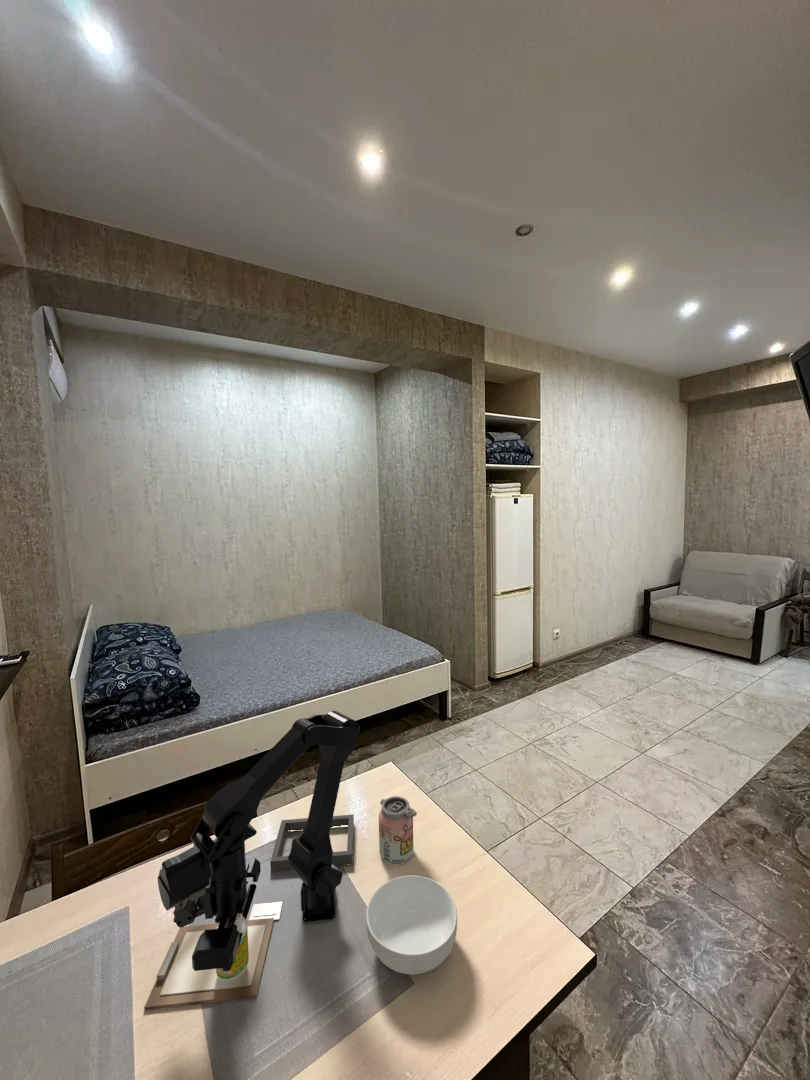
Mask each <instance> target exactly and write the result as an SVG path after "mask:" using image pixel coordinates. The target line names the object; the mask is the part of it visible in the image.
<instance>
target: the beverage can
mask: <svg viewBox="0 0 810 1080" xmlns="http://www.w3.org/2000/svg"><path fill="white" fill-rule="evenodd" d="M380 805H381V809H380V811H379V814H378V845H379V847H378V848H379V851H378V852H379V855H380V857H381V859H382V860H384V862H386V863H387V862H388V863H387V864H389V863H390V864H389V865H393V864H399V865H403V864H405V863H406V862H407V861H409V860H410V859H411V857H412V855H413V853H414V817H416V816H417V814H418V812H417V811H416V810H415V809H414V808H412V807H411V806H410V802H409V801H408V799H406V798H405V797H402V796H397V795H395V796H394V795H393V796H390V797H387V798H386V799H385V798H382V799H381V800H380ZM408 859H409V860H408ZM404 862H405V863H404ZM402 863H403V864H402Z"/></svg>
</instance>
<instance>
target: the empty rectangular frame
mask: <svg viewBox="0 0 810 1080" xmlns="http://www.w3.org/2000/svg"><path fill="white" fill-rule="evenodd" d="M354 817H355V815H354V813H352V814H344V815H343V814H342V815H333V819H332V824H331V827H333V826H341V825H348V827H347V840H346V841H347V842H346V845H347V846H346V850H342V851H341V850H340V851H333V856H332V863H333V864H334V865H335V866H336V867H341V866H348V865H347V864H352V865H353V858H352V856H353V855H354V854H353V853H354V852H353V851H354V831H353V827H354V826H355V822H354ZM307 821H308V817H304V818H293V819H290V818H289V819H282V820H281V822H280V825H279V828H278V832H277V836H276V840H275V843H274V847H273V850H272V854H271V858H270V872H271V873H272V872H274V873H275V872H284V871H293V870H292V869H291V867H290V861H289V859H288V856H289V855H282V856H281V854H282V849H283V845H284V842H285V837H286V834H285V833H287V832H286V831H288V830H289V831H290V830H302V829H303V830H305V829H306V825H307ZM354 828H355V827H354Z"/></svg>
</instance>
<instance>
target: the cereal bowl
mask: <svg viewBox="0 0 810 1080" xmlns="http://www.w3.org/2000/svg"><path fill="white" fill-rule="evenodd" d="M451 895H452V894H451V893H450V892H449V891H448V890H447V889H446V888H445V887H444V886H443V885H442V884H441V883H439V882H437V881H436V880H433V879H432V878H429V877H425V876H421V875H413V874H412V875H402V876H399V877H396V878H392V879H390V880H388V881H386V882H385V883H383V884H382V885H380V886H379V888H378V889H377V890H376V891H375V892H374V893H373V894H372V897H370V900H369V902H368V905H367V908H366V914H365V922H366V931H367V937H368V940H369V944H370V946H371V949H372V950H373V952H374V953H375V955H376V957H377V958H378V959H379V960H380V962H382V964H384V965H385V966H386V967H388V968H389V969H391V970H393V971H395V972H397V973H400V974H403V975H404V974H405V975H411V976H413V975H421V974H424V973H427V972H431V971H433V969H436V968H438V966H439V965H441V964H442V963H443V962H444V961H445V960H446V958H448V956H449V954H450V953H451V951H452V949H453V948H454V947H453V946H454V944H455V941H456V937H457V930H458V910H457V906H456V903H455V901H454V899H453V897H452V896H451Z"/></svg>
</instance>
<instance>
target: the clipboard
mask: <svg viewBox="0 0 810 1080" xmlns="http://www.w3.org/2000/svg"><path fill="white" fill-rule="evenodd" d="M246 921H247V929H248V951H249V961H248V965H247V967H246V969H245V971H244V972H243V973H242V974H241V975H240V976H239V977H238V978H236V979H234V980H231V981H222V980H220V979H219V978H218V977H217V974H216V969H209V970H199V971H194V969H193V968H192V955H193V952H194V950H195V947H196V945H197V942H198V939H199V937H200V935H201V934H202V933H203V932H204V931H205V930H210V929H216V928H217V926H218V923H208V924H207V923H206V924H198V925H187V926H184V927H182V928H180V927H178V928H179V929H178V931H177V933H176V935H175V938H174V940H173V941H172V942H171V943H170V946H169V948H168V950H167V953H166V954H165V957H164V959H163V961H162V964H161V965H160V968H159V969H158V972H157V974H156V980H155V982H154V985H153V986H152V988H151V991H150V994H149V996H148V997H147V1000H146V1003H145V1005H144V1007H143V1010H144V1011H151V1010H152V1011H153V1010H154V1011H155V1010H161V1009H162V1010H163V1009H169V1008H179V1007H189V1006H197V1005H204V1004H205V1005H207V1004H214V1003H224V1002H232V1001H241V1000H250V999H257V997H258V993H259V989H260V985H261V979H262V976H263V971H264V966H265V962H266V958H267V952H268V949H269V945H270V944H269V943H270V940H271V936H272V932H273V927H274V922H275V921H274V918H267V919H257V920H249V919H248V920H247V919H246Z"/></svg>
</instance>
